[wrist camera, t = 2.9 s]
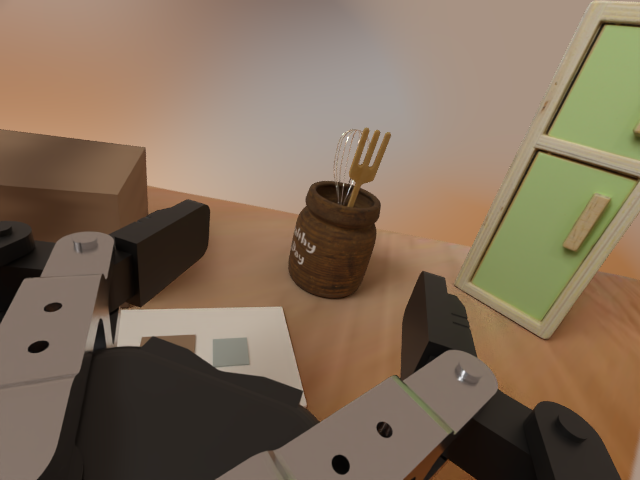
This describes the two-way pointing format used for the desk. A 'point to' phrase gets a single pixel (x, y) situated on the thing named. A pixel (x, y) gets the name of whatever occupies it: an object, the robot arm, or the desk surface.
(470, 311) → the desk surface
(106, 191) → the walnut base block
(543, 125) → the toy refrigerator
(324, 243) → the utensil holder
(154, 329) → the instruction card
